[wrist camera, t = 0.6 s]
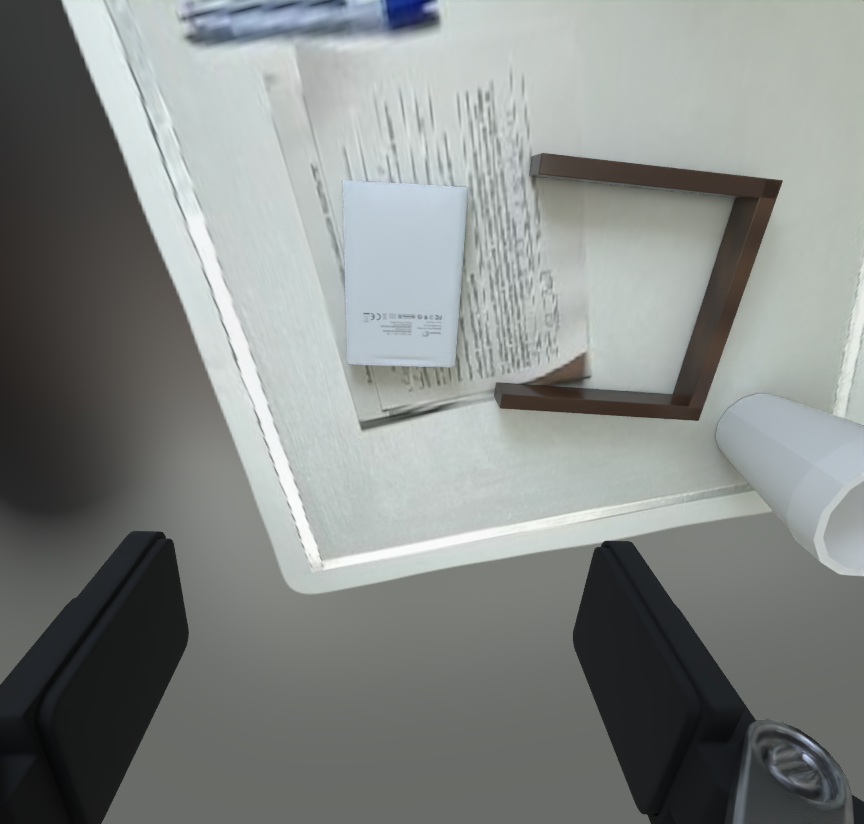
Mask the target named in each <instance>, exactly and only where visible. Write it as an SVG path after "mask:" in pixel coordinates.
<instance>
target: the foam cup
mask: <svg viewBox="0 0 864 824" xmlns="http://www.w3.org/2000/svg"><path fill="white" fill-rule="evenodd" d="M715 438H716V441H717V444H718V446H719V449H720V450H721V451H722V452H723V454H724V455H725V457H726V458H727V459H728V460H729V461H730V462H731V463H732V465H733V466H734V467H735V468H736V469H737V470H738V471H739V473H740V474H741V475H742V476H743V477H744V478H745V479H746V480H747V482H748V483H749V484H750V485H751V486H752V487H753V488H754V490H755V491H756V492H757V493H758V494H759V495H760V496H761V498H762V499H763V500H764V501H765V502H766V503H767V504H768V506H769V507H770V508H771V509H772V510H773V511H774V512H775V514H776V515H777V516H778V517H779V518H780V519H781V520H782V522H783V523H784V524H785V525H786V526H787V527H788V528H789V529H790V531H791V533H792V536H793V538H794V539H795V540H796V541H797V542H798V543H799V544H800V545H801V546H803V547H804V548H805V549H806V550H807V551H808V552H809V553H811V554H812V555H813V556H814V557H815V558H816V559H817V560H819V561H820V562H821V563H823V564H824V565H826V566H827V567H829V568H830V569H832V570H833V571H835V572H836V573H838V574H840V575H853V576H854V575H855V576H864V425H861V424H858V423H855V422H852V421H849V420H847V419H844V418H841V417H838V416H835V415H832V414H829V413H826V412H823V411H820V410H817V409H814V408H811V407H808V406H805V405H802V404H799V403H797V402H794V401H791V400H788V399H785V398H782V397H777V396H775V395H770V394H761V393H758V394H755V395H751V396H748V397H745V398H742V399H740V400H739V401H738V402H736V403H735V404H734V405H732V406H731V407H730V408H728V409H727V410H726V412H725V413H724V415H723V416H722V418H721V419H720V421H719V422H718V425H717V431H716V436H715Z"/></svg>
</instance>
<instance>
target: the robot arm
mask: <svg viewBox="0 0 864 824" xmlns="http://www.w3.org/2000/svg"><path fill="white" fill-rule="evenodd" d="M188 635H189V632H188V624H187V619H186V613H185V607H184V601H183V595H182V589H181V583H180V577H179V571H178V565H177V560H176V554H175V548H174V543H173V541H172V540H171V539H166V537H165V535H164V533H163V532H154V531H153V532H151V531H150V532H149V531H133V532H131V533H130V534H128V536H127V537H126V538H125V539H124V540H123V541H122V543H121V544H120V545H119V546H118V548H117V549H116V550H115V551H114V552H113V554H112V555H111V556H110V557H109V559H108V560H107V561H106V562H105V563H104V565H103V566H102V567H101V568H100V570H99V571H98V572H97V573H96V574H95V576H94V577H93V578H92V580H91V581H90V582H89V583H88V584H87V586H86V587H85V588H84V590H82V592H81V593H80V594H79V595H78V597H76V598H74V599H72V600H71V601H70V602H69V603H68V604H67V605H66V606H65V607H64V609H63V610H62V611H61V612H60V614H59V615H58V616H57V617H56V619H55V620H54V621H53V622H52V623H51V624H50V626H49V627H48V628H47V629H46V631H45V632H44V633H43V634H42V635H41V637H40V638H39V639H38V640H37V641H36V643H35V644H34V645H33V646H32V647H31V649H30V650H29V651H28V652H27V653H26V655H25V656H24V657H23V658H22V660H21V661H20V662H19V663H18V664H17V666H16V667H15V668H14V669H13V670H12V672H11V673H10V674H9V675H8V677H7V678H6V679H5V680H4V681H3V683H2V684H1V685H0V824H101V823H102V821H103V819H104V817H105V815H106V813H107V811H108V809H109V807H110V805H111V803H112V801H113V799H114V797H115V795H116V792H117V790H118V788H119V786H120V784H121V782H122V780H123V778H124V776H125V774H126V772H127V769H128V767H129V765H130V763H131V761H132V759H133V757H134V755H135V753H136V751H137V749H138V747H139V744H140V742H141V740H142V738H143V736H144V734H145V732H146V730H147V728H148V726H149V724H150V722H151V719H152V717H153V715H154V713H155V711H156V709H157V707H158V705H159V703H160V700H161V699H162V696H163V694H164V692H165V690H166V688H167V686H168V684H169V682H170V680H171V678H172V676H173V673H174V672H175V669H176V667H177V665H178V663H179V661H180V659H181V657H182V655H183V653H184V650H185V648H186V646H187V642H188ZM573 643H574V648H575V651H576V653H577V656H578V659H579V661H580V664H581V666H582V669H583V671H584V674H585V676H586V679H587V681H588V684H589V687H590V689H591V692H592V694H593V696H594V699H595V702H596V704H597V707H598V710H599V712H600V714H601V717H602V720H603V722H604V725H605V727H606V730H607V732H608V735H609V738H610V740H611V742H612V745H613V748H614V750H615V753H616V755H617V757H618V760H619V763H620V765H621V768H622V771H623V773H624V776H625V778H626V781H627V783H628V786H629V789H630V791H631V794H632V796H633V799H634V801H635V804H636V806H637V808H638V809H639V811H640V812H641V813H642V814H647V815H648V817H649V820H650V822H651V824H864V802H863V801H861V800H860V799H858V798H856V797H855V796H853V795H852V793H851V789H850V786H849V782H848V779H847V777H846V776H845V774H844V772H843V770H842V769H841V767H840V765H839V764H838V763H837V762H836V761H835V760H834V758H833V757H832V756H831V755H830V753H829V752H828V751H827V750H826V749H825V748H823V747H822V746H821V745H820V744H819V743H817V742H816V741H815V740H814V739H813V738H812V737H810V736H808V735H807V734H805V733H804V732H802V731H800V730H799V729H797V728H795V727H793V726H790V725H788V724H786V723H783V722H779V721H775V720H769V719H765V720H757V721H756V720H755V718H754V717H753V716H752V714H751V713H750V711H749V710H748V708H747V707H746V705H745V704H744V702H743V701H742V700H741V698H740V697H739V695H738V694H737V692H736V691H735V689H734V688H733V686H732V685H731V684H730V682H729V681H728V679H727V678H726V676H725V675H724V673H723V672H722V670H721V669H720V668H719V666H718V665H717V663H716V662H715V660H714V659H713V657H712V656H711V655H710V653H709V652H708V650H707V649H706V647H705V646H704V644H703V643H702V641H701V640H700V638H699V637H698V636H697V634H696V633H695V631H694V630H693V628H692V627H691V625H690V624H689V622H688V621H687V620H686V618H685V617H684V615H683V614H682V612H681V611H680V610H679V608H677V606H676V605H675V604H674V603H673V601H672V600H671V598H670V597H669V596H668V594H667V593H666V591H665V590H664V588H663V587H662V585H661V584H660V582H659V581H658V579H657V578H656V576H655V575H654V574H653V572H652V571H651V569H650V568H649V566H648V565H647V563H646V562H645V560H644V559H643V558H642V556H641V555H640V553H639V552H638V550H637V549H636V547H635V546H634V545H633V544H632V542H629V541H604V542H603V543H602V545H601V547H597V548H596V549H595V550H594V553H593V557H592V561H591V565H590V569H589V572H588V577H587V580H586V584H585V588H584V592H583V596H582V600H581V604H580V607H579V612H578V615H577V619H576V623H575V627H574V631H573Z"/></svg>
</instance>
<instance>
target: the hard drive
mask: <svg viewBox="0 0 864 824" xmlns="http://www.w3.org/2000/svg"><path fill="white" fill-rule="evenodd" d="M342 185H343V224H344V264H345V304H346V341H347V364H349V365H378V366H413V367H455V360H456V346H457V333H458V321H459V308H460V294H461V281H462V267H463V254H464V241H465V227H466V213H467V199H468V187H457V186H439V185H421V184H402V183H384V182H366V181H348V180H343V181H342Z"/></svg>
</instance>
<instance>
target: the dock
mask: <svg viewBox="0 0 864 824" xmlns="http://www.w3.org/2000/svg"><path fill="white" fill-rule="evenodd" d="M529 175H530V176H536V177H545V178H555V179H564V180H573V181H582V182H591V183H601V184H610V185H619V186H628V187H637V188H646V189H656V190H665V191H674V192H683V193H692V194H702V195H711V196H720V197H729V198H736V200H735V203H734V206H733V209H732V212H731V215H730V218H729V222H728V225H727V228H726V231H725V234H724V237H723V240H722V243H721V246H720V250H719V253H718V256H717V259H716V262H715V265H714V268H713V271H712V275H711V278H710V281H709V284H708V287H707V290H706V293H705V296H704V300H703V303H702V306H701V309H700V312H699V315H698V318H697V321H696V325H695V328H694V331H693V334H692V337H691V340H690V343H689V346H688V350H687V353H686V356H685V359H684V362H683V365H682V368H681V371H680V375H679V378H678V381H677V384H676V387H675V390H674V393H673V395H672V394H657V393H642V392H627V391H613V390H598V389H583V388H568V387H554V386H539V385H524V384H509V383H496V388H495V394H494V397H495V399H496V401H497V403H498V405H499V407H500V408H504V409H520V410H536V411H552V412H567V413H583V414H599V415H615V416H631V417H647V418H663V419H679V420H695V421H698V420H699V418H700V415H701V412H702V409H703V406H704V403H705V401H706V398H707V395H708V392H709V389H710V386H711V384H712V381H713V378H714V375H715V372H716V369H717V367H718V364H719V361H720V358H721V355H722V352H723V349H724V347H725V344H726V341H727V338H728V335H729V332H730V330H731V327H732V324H733V321H734V318H735V315H736V312H737V310H738V307H739V304H740V301H741V298H742V295H743V293H744V290H745V287H746V284H747V281H748V278H749V276H750V273H751V270H752V267H753V264H754V261H755V258H756V256H757V253H758V250H759V247H760V244H761V241H762V239H763V236H764V233H765V230H766V227H767V224H768V221H769V219H770V216H771V213H772V210H773V207H774V204H775V202H776V199H777V196H778V193H779V190H780V187H781V185H782V182H783V181H782V180H775V179H766V178H757V177H748V176H740V175H731V174H722V173H713V172H704V171H696V170H687V169H678V168H669V167H660V166H652V165H643V164H634V163H625V162H616V161H608V160H599V159H590V158H581V157H573V156H564V155H555V154H546V153H542V154H538V155H535V156H532V160H531V167H530V173H529Z"/></svg>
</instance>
